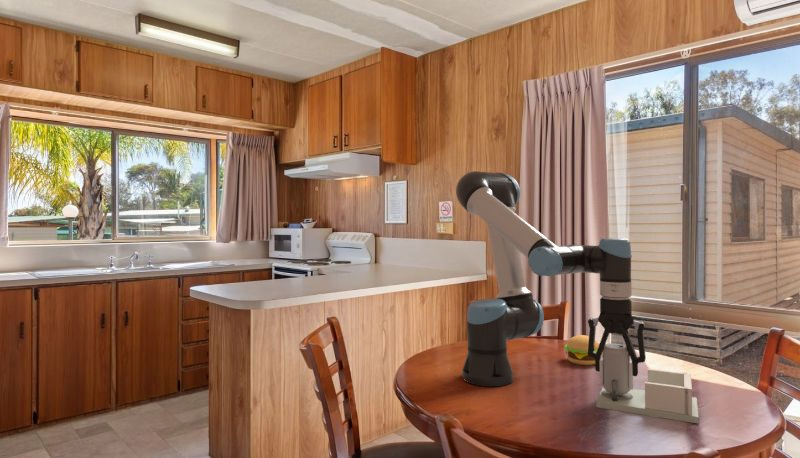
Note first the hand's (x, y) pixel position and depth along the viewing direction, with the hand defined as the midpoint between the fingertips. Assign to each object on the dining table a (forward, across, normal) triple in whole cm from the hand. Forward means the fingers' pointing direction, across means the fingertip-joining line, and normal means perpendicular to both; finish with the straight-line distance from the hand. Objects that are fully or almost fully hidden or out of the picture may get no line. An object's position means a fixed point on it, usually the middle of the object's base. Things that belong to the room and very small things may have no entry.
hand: (616, 385), depth 127 cm
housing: (+2, +12, 0) cm, 12 cm away
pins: (+2, 0, 0) cm, 2 cm away
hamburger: (+4, -14, +35) cm, 38 cm away
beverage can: (+2, 0, 0) cm, 2 cm away
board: (+4, +7, 0) cm, 8 cm away
